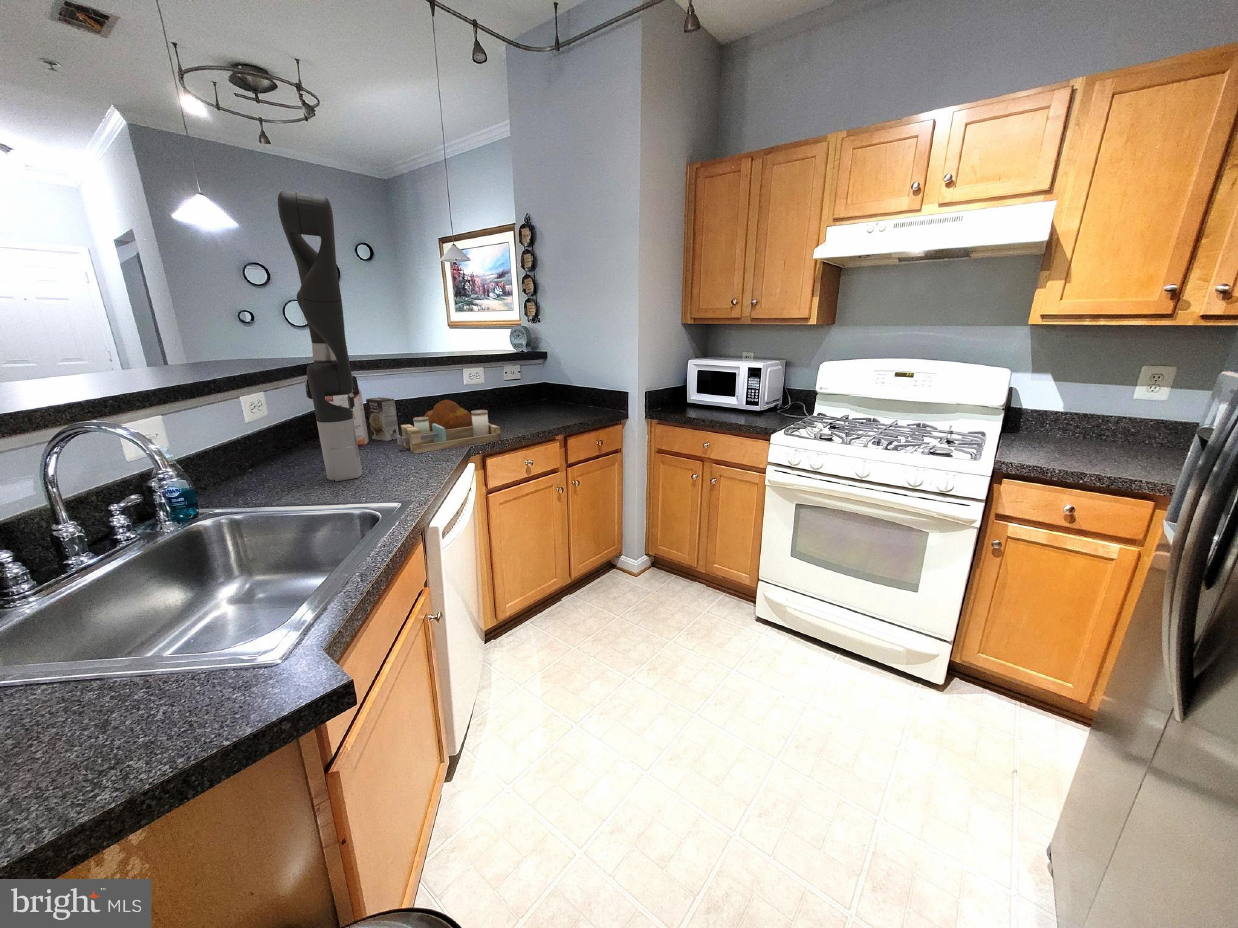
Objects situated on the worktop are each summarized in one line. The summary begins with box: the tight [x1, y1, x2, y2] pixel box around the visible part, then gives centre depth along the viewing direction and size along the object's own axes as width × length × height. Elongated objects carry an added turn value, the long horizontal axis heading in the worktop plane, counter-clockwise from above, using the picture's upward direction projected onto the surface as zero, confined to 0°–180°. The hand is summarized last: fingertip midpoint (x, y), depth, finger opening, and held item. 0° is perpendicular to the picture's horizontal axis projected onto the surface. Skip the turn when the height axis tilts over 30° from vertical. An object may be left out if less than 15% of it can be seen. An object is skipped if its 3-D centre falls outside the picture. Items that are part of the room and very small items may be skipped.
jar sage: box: [412, 416, 430, 433], centre depth 189 cm, size 6×6×9 cm
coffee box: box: [365, 397, 400, 442], centre depth 191 cm, size 9×6×16 cm
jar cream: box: [470, 409, 489, 437], centre depth 189 cm, size 6×6×11 cm
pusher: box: [396, 424, 446, 446], centre depth 176 cm, size 11×15×7 cm
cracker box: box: [325, 388, 370, 446], centre depth 181 cm, size 14×6×21 cm, turn 105°
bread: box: [423, 399, 473, 432], centre depth 210 cm, size 21×33×12 cm, turn 6°
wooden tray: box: [400, 422, 502, 454], centre depth 183 cm, size 14×33×8 cm, turn 128°
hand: (336, 410), depth 152 cm, fingers open, 8 cm apart
